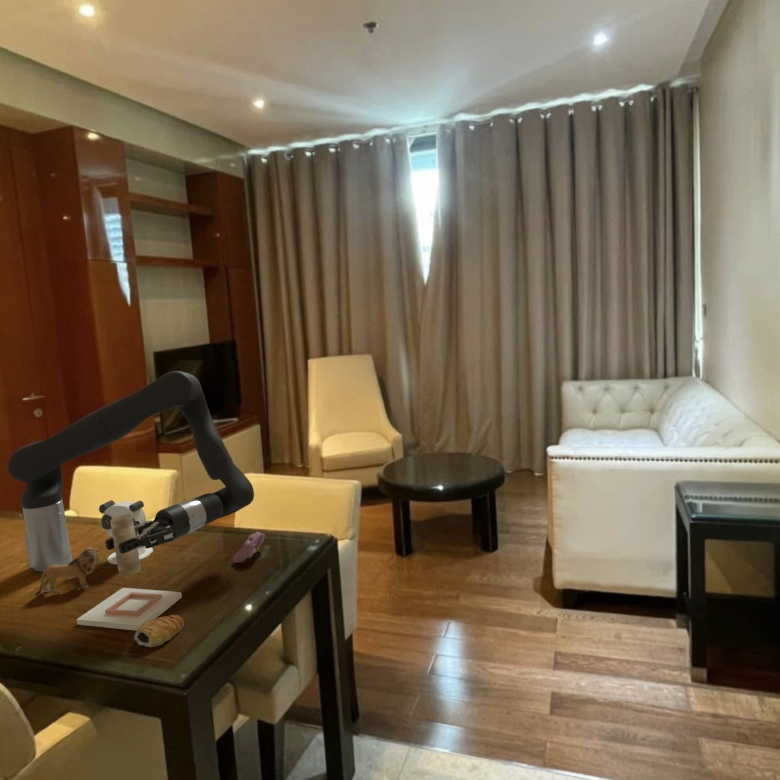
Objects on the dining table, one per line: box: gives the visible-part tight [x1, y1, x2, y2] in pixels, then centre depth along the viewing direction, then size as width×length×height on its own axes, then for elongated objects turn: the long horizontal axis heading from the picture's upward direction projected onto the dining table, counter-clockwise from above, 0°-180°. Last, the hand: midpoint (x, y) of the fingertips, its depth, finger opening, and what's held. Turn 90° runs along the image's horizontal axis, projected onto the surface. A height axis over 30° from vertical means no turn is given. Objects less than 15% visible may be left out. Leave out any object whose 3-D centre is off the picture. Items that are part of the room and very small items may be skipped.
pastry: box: [133, 614, 185, 648], centre depth 120 cm, size 9×7×4 cm
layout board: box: [76, 587, 183, 632], centre depth 131 cm, size 16×14×2 cm
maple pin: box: [110, 515, 142, 577], centre depth 129 cm, size 4×4×12 cm
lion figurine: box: [34, 546, 101, 596], centre depth 144 cm, size 15×5×9 cm, turn 118°
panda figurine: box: [98, 499, 154, 565], centre depth 161 cm, size 12×11×15 cm
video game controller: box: [232, 531, 266, 564], centre depth 155 cm, size 10×5×7 cm, turn 169°
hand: (113, 547), depth 127 cm, fingers closed on maple pin, 4 cm apart
